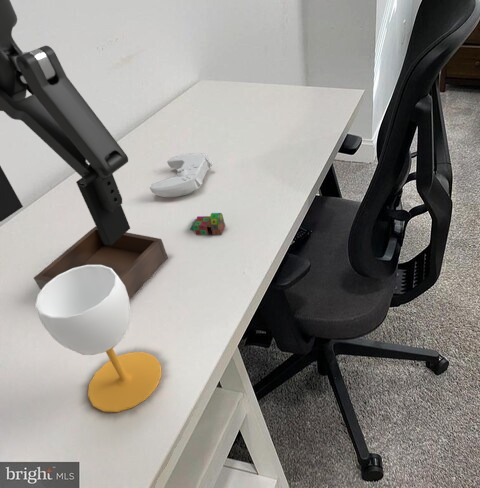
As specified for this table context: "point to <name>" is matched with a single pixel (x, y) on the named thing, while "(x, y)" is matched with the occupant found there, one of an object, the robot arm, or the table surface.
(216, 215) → the block
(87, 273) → the cup
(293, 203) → the table surface
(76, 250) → the holder
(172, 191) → the game controller
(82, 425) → the table surface
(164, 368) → the table surface
